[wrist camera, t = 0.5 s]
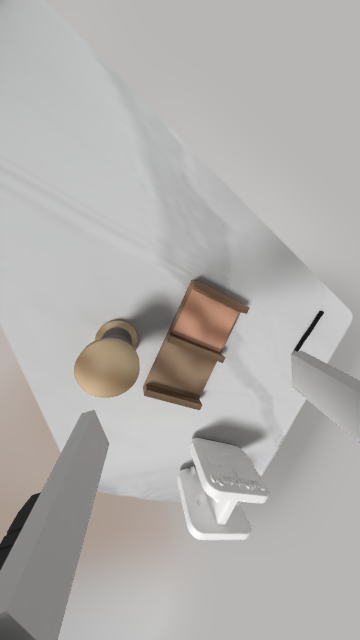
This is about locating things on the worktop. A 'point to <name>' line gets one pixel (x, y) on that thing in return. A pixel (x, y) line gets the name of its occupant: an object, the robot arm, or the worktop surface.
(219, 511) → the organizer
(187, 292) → the slot cradle
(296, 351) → the black pen
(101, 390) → the cord spool
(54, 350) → the worktop surface
